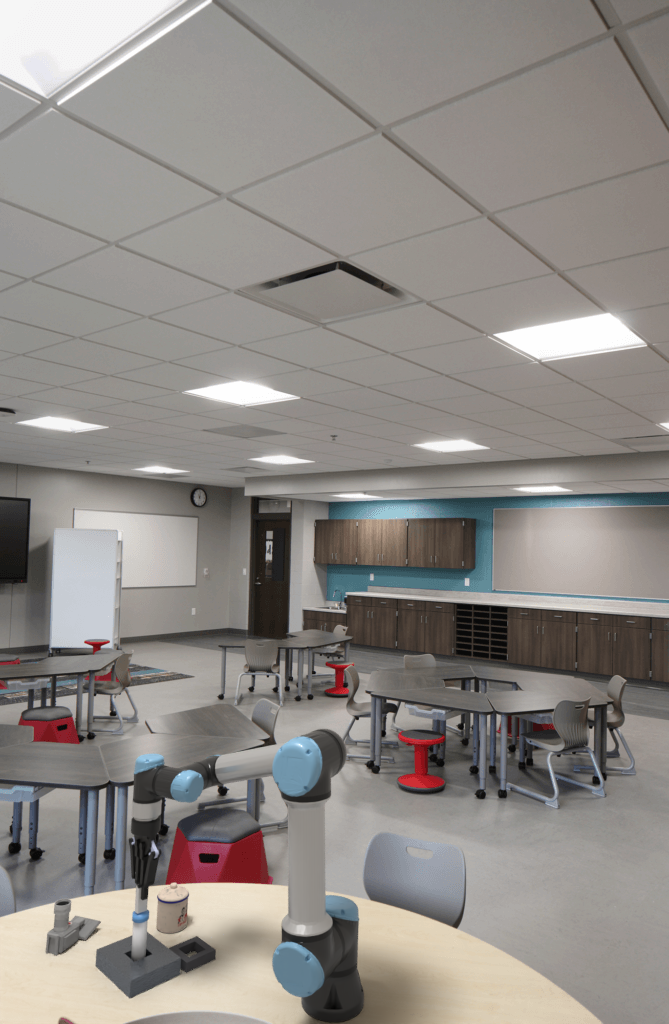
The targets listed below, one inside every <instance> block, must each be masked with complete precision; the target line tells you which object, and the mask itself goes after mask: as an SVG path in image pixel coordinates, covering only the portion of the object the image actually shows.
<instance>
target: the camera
mask: <svg viewBox="0 0 669 1024" xmlns="http://www.w3.org/2000/svg"><path fill="white" fill-rule="evenodd" d="M53 907H54V908H53V914H54V920H53V921H54V922H53V927H52V929H50V930H48V932H47V933H46V942H45V943H46V944H45V945H46V947H45V954H52V955H54V956H58V955H59V954H62V953H63V952H64V951H66V950H67V949H69V948H70V947H71V946H73V945H74V944H75V943H77V942H78V941H79V940H83V941H86V940H87V939H88V938H89V937H90V936H91V934H93V933H94V931H95V930H96V929H97V928H98V927H99V925H100V924H101V923H102V921H100V920H98V919H93V918H88V917H85V916H84V917H83V916H80V915H74V916H73V917H72V919H71V920H70V913H71V910H72V900H71V899H70V898H60V899H57V900H56V901H54V906H53Z"/></svg>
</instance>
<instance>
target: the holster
mask: <svg viewBox="0 0 669 1024" xmlns="http://www.w3.org/2000/svg"><path fill="white" fill-rule="evenodd" d="M168 948H169V949H170V950H171V951H173V952H174V953H175V954H177V955H178V956H179V957H180V958H181V969H180V970H181V971H183V972H184V973H186V974H188V973H190V972H192V971H194V970H196V969H198V968H200V967H202V966H205V965H207V964H209V963H211V962H214V961H216V957H217V955H216V954H217V952H216V951H217V949H215V947H213V946H212V945H210V944H209V943H207V942H206V941H205V940H204V939H202V938H201V937H199V936H197V935H196V936H193V937H192V938H188V939H187V940H184V941H182V942H179V943H178V944H175V945H172V946H170V947H168ZM194 952H195V953H194ZM191 953H194V954H193V955H190V956H189V954H191Z"/></svg>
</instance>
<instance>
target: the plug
mask: <svg viewBox="0 0 669 1024" xmlns="http://www.w3.org/2000/svg"><path fill="white" fill-rule="evenodd" d="M131 915H132V917H131V921H132V933H131V934H132V935H131V936H132V952H131V960H132V961H134V962H135V961H138V960H140V959H142V958H145V957H146V941H147V932H148V921H149V919H150V910H149V909H147V911H144V912H141V913H138V914H137V913H136V912H135V910H133V912H132V914H131Z"/></svg>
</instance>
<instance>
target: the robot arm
mask: <svg viewBox="0 0 669 1024" xmlns="http://www.w3.org/2000/svg"><path fill="white" fill-rule="evenodd" d="M347 753H348V751H347V746H346V743H345V741H344V740H343V738H342V736H341V735H340V734H339V733H337V732H336V731H334V730H332V729H328V728H318V729H315V730H313V731H310V732H308V733H306V734H305V733H304V734H301V735H299V736H296V737H293V738H291V739H289V740H288V741H287V742H280V743H276V744H270V745H266V746H262V747H255V748H251V749H245V750H241V751H236V752H235V751H234V752H231V753H226V754H214V755H213V754H212V755H209V756H207V757H206V758H203V759H200V760H198V761H196V762H192V763H190V764H187V765H184V766H182V767H173V766H169V765H166V762H165V756H163V755H162V754H159V753H145V754H141V755H139V756H138V757H137V758H136V759H135V765H134V770H133V771H134V772H133V788H132V789H133V790H132V791H133V793H132V794H133V795H132V804H131V821H130V823H131V824H130V833H131V834H132V835H133V836H132V837H129V839H128V845H129V852H130V854H129V855H130V875H131V876H130V877H131V879H132V880H134V884H135V903H134V911H135V912H136V913H137V914H138V913H141V912H144V911H147V910H148V901H149V899H148V898H149V889H150V886H153V885H155V880H156V876H157V870H158V866H159V862H160V861H159V860H160V856H161V855H162V849H158V848H157V846H156V845H157V838H156V837H157V835H158V833H159V832H160V831H161V824H162V823H161V822H162V816H161V814H162V803H163V798H165V799H168V800H173V801H176V802H180V803H189V804H190V803H194V802H196V801H197V800H198V798H199V797H200V796H201V795H202V793H203V791H205V790H206V789H209V788H213V787H217V786H222V785H227V784H233V783H239V782H244V781H249V780H256V779H262V778H269V777H272V778H273V781H274V783H275V784H277V788H278V790H279V791H280V795H281V797H280V798H281V800H282V801H283V802H284V803H285V804H286V805H287V865H288V866H287V873H288V876H287V890H288V891H287V898H288V899H287V906H288V907H287V908H288V909H287V911H288V912H287V914H286V915H285V916H284V917H283V918H282V921H281V943H280V944H278V946H277V947H276V948H275V950H274V952H273V955H272V960H271V961H272V965H271V966H272V971H273V974H274V976H275V979H276V980H277V982H278V983H279V984H280V985H281V986H282V989H284V990H285V991H286V992H287V993H288V994H289V995H292V996H294V997H298V998H301V1000H300V1002H301V1006H302V1008H303V1010H304V1012H306V1014H308V1015H309V1016H311V1017H312V1018H314V1019H316V1020H319V1021H323V1022H328V1023H340V1022H345V1021H349V1020H351V1019H353V1018H355V1017H356V1016H357V1015H359V1014H360V1013H361V1012H362V1010H363V1009H364V1003H365V993H364V991H365V990H364V988H363V985H362V981H361V978H360V977H361V976H360V972H359V970H358V961H359V960H358V959H359V955H358V952H359V927H360V926H359V924H360V923H359V922H360V918H359V908H358V904H357V903H356V902H355V901H354V900H352V899H350V898H349V897H345V896H340V895H335V894H334V895H332V894H327V893H326V891H327V890H326V889H327V888H326V808H325V807H326V803H327V802H328V801H329V800H330V799H331V798H332V778H334V777H335V776H336V775H338V774H339V773H340V772H341V771H342V769H343V768H344V767H345V764H346V761H347V755H348V754H347Z"/></svg>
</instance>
